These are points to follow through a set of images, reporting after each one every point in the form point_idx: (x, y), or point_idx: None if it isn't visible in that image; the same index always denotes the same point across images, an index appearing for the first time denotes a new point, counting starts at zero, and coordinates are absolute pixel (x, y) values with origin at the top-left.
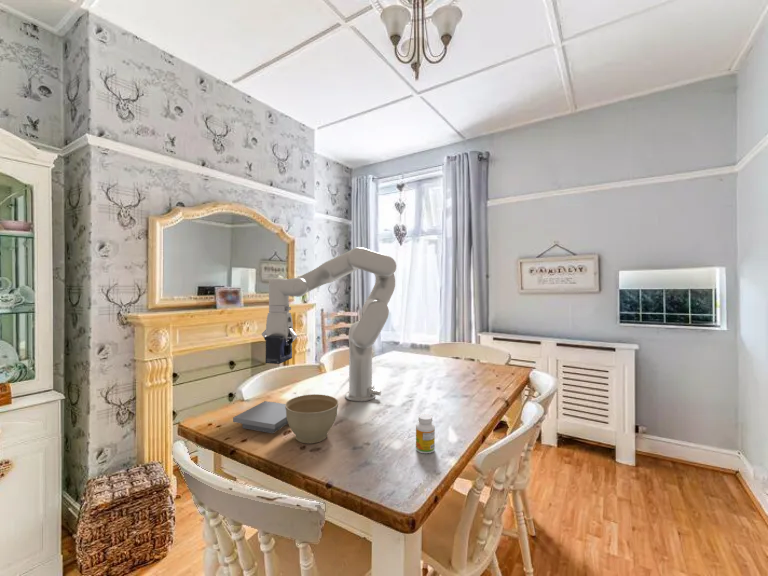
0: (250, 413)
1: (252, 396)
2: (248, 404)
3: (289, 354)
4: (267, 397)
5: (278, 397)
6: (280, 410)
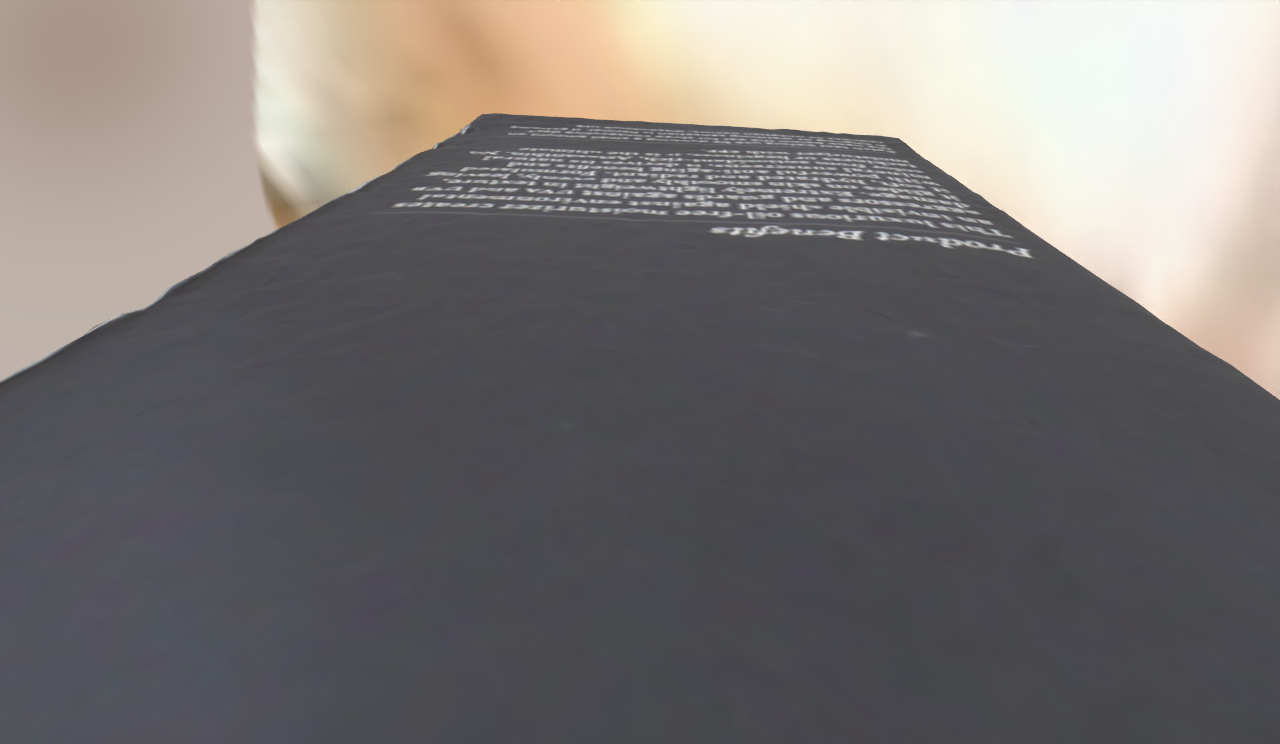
0: None
1: (288, 73)
2: None
3: None
4: (474, 73)
5: (600, 47)
6: None
